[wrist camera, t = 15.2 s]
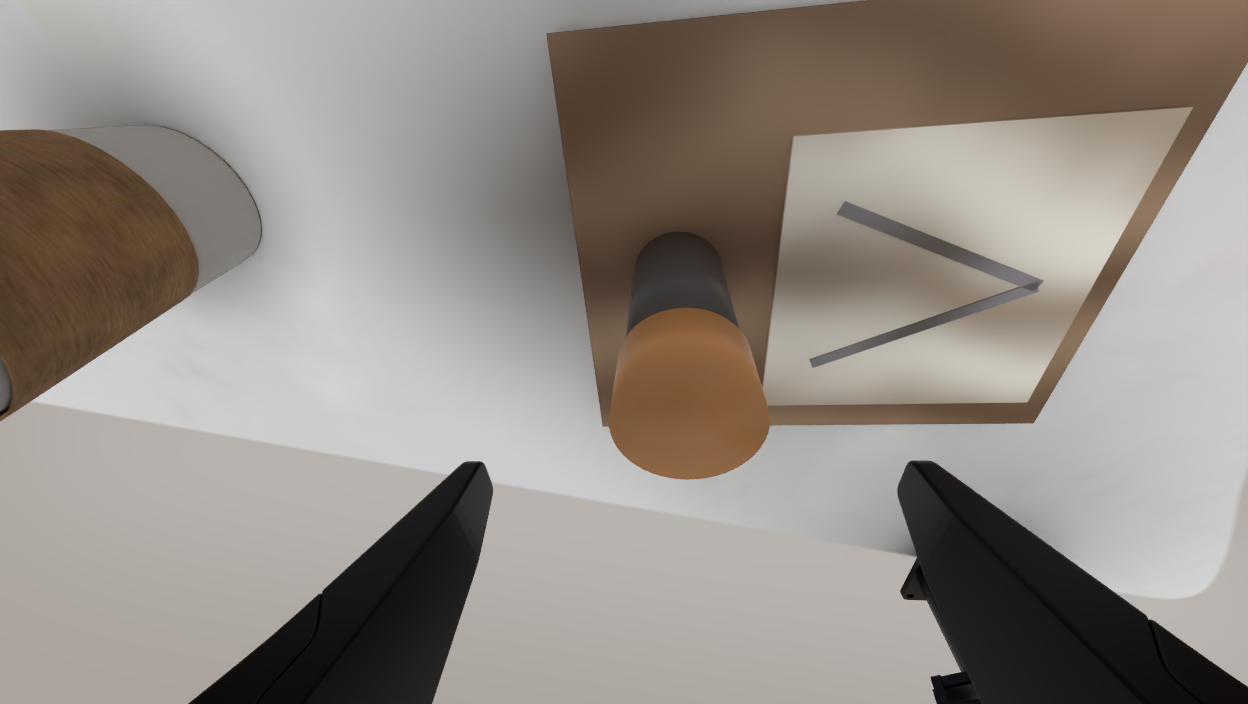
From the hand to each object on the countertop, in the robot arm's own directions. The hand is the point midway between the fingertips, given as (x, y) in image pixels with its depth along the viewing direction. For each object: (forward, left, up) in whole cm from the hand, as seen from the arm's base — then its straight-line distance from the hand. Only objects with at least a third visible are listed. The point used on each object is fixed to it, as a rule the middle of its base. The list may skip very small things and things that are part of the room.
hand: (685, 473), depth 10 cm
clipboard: (0, -7, -12) cm, 13 cm away
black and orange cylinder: (0, 0, -11) cm, 11 cm away
